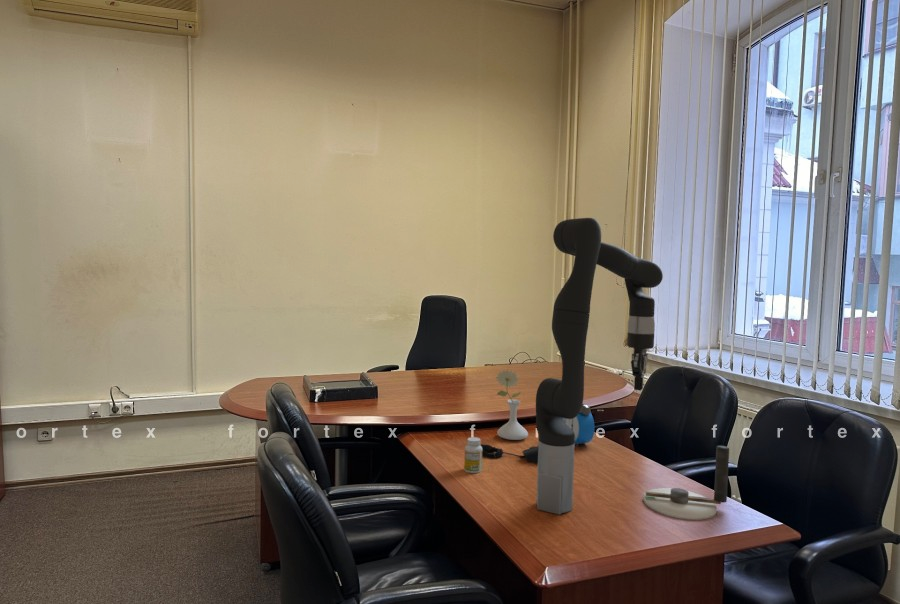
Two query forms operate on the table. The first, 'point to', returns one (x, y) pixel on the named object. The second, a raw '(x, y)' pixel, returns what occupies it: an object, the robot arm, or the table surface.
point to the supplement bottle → (473, 456)
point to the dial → (719, 489)
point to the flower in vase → (512, 427)
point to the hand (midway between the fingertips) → (638, 389)
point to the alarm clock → (582, 425)
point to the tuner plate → (680, 506)
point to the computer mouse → (529, 454)
